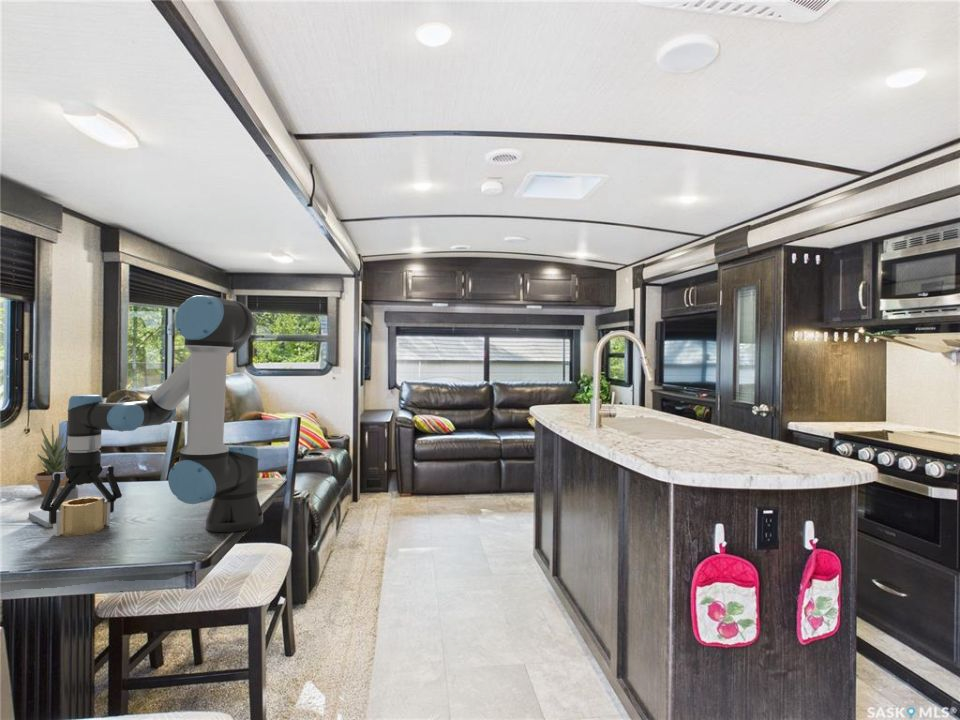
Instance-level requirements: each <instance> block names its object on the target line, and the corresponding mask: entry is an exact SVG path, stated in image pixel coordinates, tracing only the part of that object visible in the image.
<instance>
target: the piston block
mask: <svg viewBox="0 0 960 720" xmlns="http://www.w3.org/2000/svg"><path fill="white" fill-rule="evenodd" d="M63 488H64V486H61V487H59V489H57V494H56V497H57V496H58V495H59V493H60V492H61V490H62V489H63ZM78 498H79V486H77V485H76V486H75V487H74V488H73V489H72V490H71V492H70V493H69V495H68V496H67V497H66V499H65V500H64V501H63V502H65V501H69V500H72V499H78ZM58 510H59V511H61V506H60V507H59V508H58ZM28 518H29V519H30V520H32V521H34V522H36V523H38V524H40V525H42V526H43V527H45V528H47V529H48V528H49V529H50V528H53V524H51V523H50V522H49V511H44V510H42V509H41V510H35V511H29V512H28Z"/></svg>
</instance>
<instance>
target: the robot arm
mask: <svg viewBox="0 0 960 720" xmlns="http://www.w3.org/2000/svg"><path fill="white" fill-rule="evenodd" d="M253 315H254V314H253V313H252V311H251V309H250V308H248V306H247V305H245V304H244V303H242V302H240V301H237V300H233V299H231V300H230V299H226V298H221V297H217V296H213V295H204V294H203V295H200V294H199V295H194V296H191V297H189V298H186V300H185V301H184V302H182V303H181V304H180V305H179V306H178V308H177V311H176V313H175V316H174V317H175V320H174V323H175V327H176V330H177V331H179V332H178V333H179V334H180V335H181V336H182V337H183V338H184V348H185V349H186V350H187V351H189V353H190V354H189V356H187V357H186V359H184V361H183V362H182V363H181V364H180V365H179V366H177V368H176V369H175V370H174V371H173V372H172V373H171V374H170V375H169V376H168V377H166V379H165V380H164V381H163V382H162V383H161V384H160V385H159V387H158V388H157V389H155V391H153V392H152V394H150V396H149V397H147V399H145V400H140V401H139V400H138V401H126V402H104V401H103V396H102V395H100V394H75V395H74V394H73V395H72V396H70V397H69V399H68V405H67V406H68V407H67V442H66V443H67V446H66V451H67V450H68V451H67V453H66V458H67V460H66V461H67V463H66V469H64V470H65V472H59V473H56V472H53V473H52V481H51V484H50V486H49V488H48V490H47V493H46V495H44V498H43V499H42V502H41V505H40V509H41V510H44V511H49V522H50V523H51V524H53V527H52V535H54V536H55V537H59V536H61V534H60V522H61V511H59V510H58V508H59V507H60V506H61V504H62V503H63V501H64V500H65V499H66V497H67V496H68V495H69V493H70V492H71V490H72V489H73V488H74V487H75V486H76V487H77V486H82V485H84V484H86V485H88V484H93V485H94V486H95V487H96V489H98V491H99V492H100V493H101V495H103V498H104V499H106V500H105V510H104V526H105V527H106V526H107V527H108V526H110V525H111V513H113V512H114V511H115V502H116V500H117V499H121V498H122V496H123V494H122V493H121V490H120V489H121V488H120V487H119V485H118V481H117V479H116V477H115V476H116V475H114V471H115V468H114V466H112V465H109V464H107V465H106V466H102V464H101V461H102V460H101V459H102V450H100V449H101V448H102V431H114V432H115V431H118V432H122V433H123V432H131V431H135V430H137V429H138V428H141V427H151V426H161V425H164V424H168V423H169V422H171V421H173V419H174V418H175V416H176V413H177V407H178V406H180V405H181V403H182V402H183V401H184V400H185V399H186V398H187V397H188V409H187V410H188V412H187V431H186V433H187V435H186V445H184V446H183V447H182V448H181V449H179V460H178V461H177V462H176V463H175V464H174V465H173V467H171V468H170V470H169V473H168V476H167V477H168V479H167V483H168V486H169V489H170V491H171V493H172V495H174V496H175V497H176V499H177V500H179V501H180V502H182V503H185V504H187V505H198V504H201V503H206V502H209V501H211V500H212V502H211V505H210V508H209V510H208V512H207V513H208V514H207V516H206V519H205V529H206V531H210V532H212V533H236V532H242V531H243V532H244V531H246V530H251V529H255V528H257V527H259V526H261V525H263V523H264V513H263V511H262V507H261V504H260V501H259V497H258V475H259V473H258V468H259V453H258V452H259V451H258V449H257V447H255V446H253V445H232V444H231V445H227V444H225V443H224V435H225V433H224V430H225V409H226V391H227V390H226V386H227V362H228V356H229V355H230V354H236V353H237V352H238V351H239V350H240V349H241V348H242V347H243V346H244V344H245V343H246V342H247V341H248V340H249V339H250V338H251V335H252V334H253V331H254V328H255V319H254V316H253ZM101 473H103V474H105V477H106V479H107V482H108V485H109V487H110V490H111V492H112V493H111V492H110V491H109V490H108V488H107V487H106V486H105V484H104V483H103V482H102V480H101V479H100V478H99V475H100V474H101ZM64 476H66V477H67V481H66V484H65V486H64V488H63V489H62V490H61V492H60V493H59V495H58V496H57V494H56V491H57V489H58V487H59V484H60V481H61V480H62V479H63V477H64ZM55 494H56V495H55ZM55 496H56V497H55Z"/></svg>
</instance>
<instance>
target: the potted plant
mask: <svg viewBox="0 0 960 720" xmlns="http://www.w3.org/2000/svg"><path fill="white" fill-rule="evenodd" d="M40 428H41V434H42V437H43V438H42V440H43V444H44V446H43V444H40V446H41V449H42V450H43V451H44V453H45V455H46V456H47V458H45V457H43V456H41V455H40V454H39V453H37V456H38V458H39V459H40V460H41V461H42V463H41V464H42V466H43V467H44V468H45V469H44V468H42V470H43V471H41V472H38V473H35V474H34V479H35V481H36V482H37V484H38V488H39V490H40V493H41V495H42V496H45V495H46V493H47V490H48V488H49V486H50V484H51V481H52V473H53V472H56V473H59V472H65V470H66V469H65V468H64V467H65V466H67V457H66V458H65V456H67V453H68V452H69V450H67V442H66V443H65V444H64V446H63V448H62V443H63V439H64V434H62V435H61V437H60V440H59V439H58V436H57V437H56V438H55V432H54V424H53V423H52V424H51V443H50V441H49V439H48V438H47V436H46V433H45V432H44V430H43V428H42V427H40ZM55 439H56V440H55ZM61 448H62V449H61ZM64 458H65V459H64ZM67 481H68V478H67V477H66V476H64V477H63V479H62V480H61V481H60V484H59V487H61V486H65V484H66V482H67ZM59 487H58V489H59ZM56 495H57V491H56Z"/></svg>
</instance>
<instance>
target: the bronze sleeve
mask: <svg viewBox="0 0 960 720" xmlns="http://www.w3.org/2000/svg"><path fill="white" fill-rule="evenodd" d="M105 499H106V498H105V497H99V496H88V497H78V499H72V500H69V501H65V502H63V503H62V504H61V522H60V536H61V535H62V536H63V537H74V536H75V537H76V536H85V535H90V534H94V533H97V532H99V531H102V530H103V529H104V528H105V525H104V510H105V501H106V500H105Z"/></svg>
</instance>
